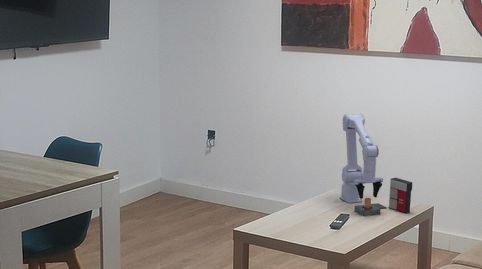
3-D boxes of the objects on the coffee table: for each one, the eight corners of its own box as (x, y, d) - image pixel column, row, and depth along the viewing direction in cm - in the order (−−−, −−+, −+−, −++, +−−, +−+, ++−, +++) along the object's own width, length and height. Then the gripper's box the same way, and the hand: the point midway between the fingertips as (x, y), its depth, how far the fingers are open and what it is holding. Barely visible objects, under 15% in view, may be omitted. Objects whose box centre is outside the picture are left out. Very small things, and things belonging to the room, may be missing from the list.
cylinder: (362, 212, 373) (363, 198, 371) (368, 211, 374) (368, 197, 373) (366, 213, 370) (366, 199, 369) (371, 213, 371) (372, 199, 370)
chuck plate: (354, 210, 375) (354, 205, 374) (370, 209, 378) (370, 204, 377) (363, 216, 366) (364, 211, 366) (380, 214, 370) (380, 209, 369)
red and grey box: (387, 208, 380) (389, 178, 377) (393, 206, 382) (395, 177, 379) (404, 213, 371) (406, 183, 368) (410, 212, 374) (412, 182, 371)
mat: (365, 205, 384) (365, 204, 383) (378, 204, 386) (378, 203, 386) (373, 209, 377) (373, 208, 377) (386, 208, 379) (386, 207, 379)
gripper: (360, 173, 362) (358, 201, 364) (387, 171, 367) (385, 198, 370) (352, 169, 368) (351, 197, 371) (379, 167, 373) (377, 194, 376)
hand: (367, 197), depth 371 cm, fingers open, 7 cm apart
